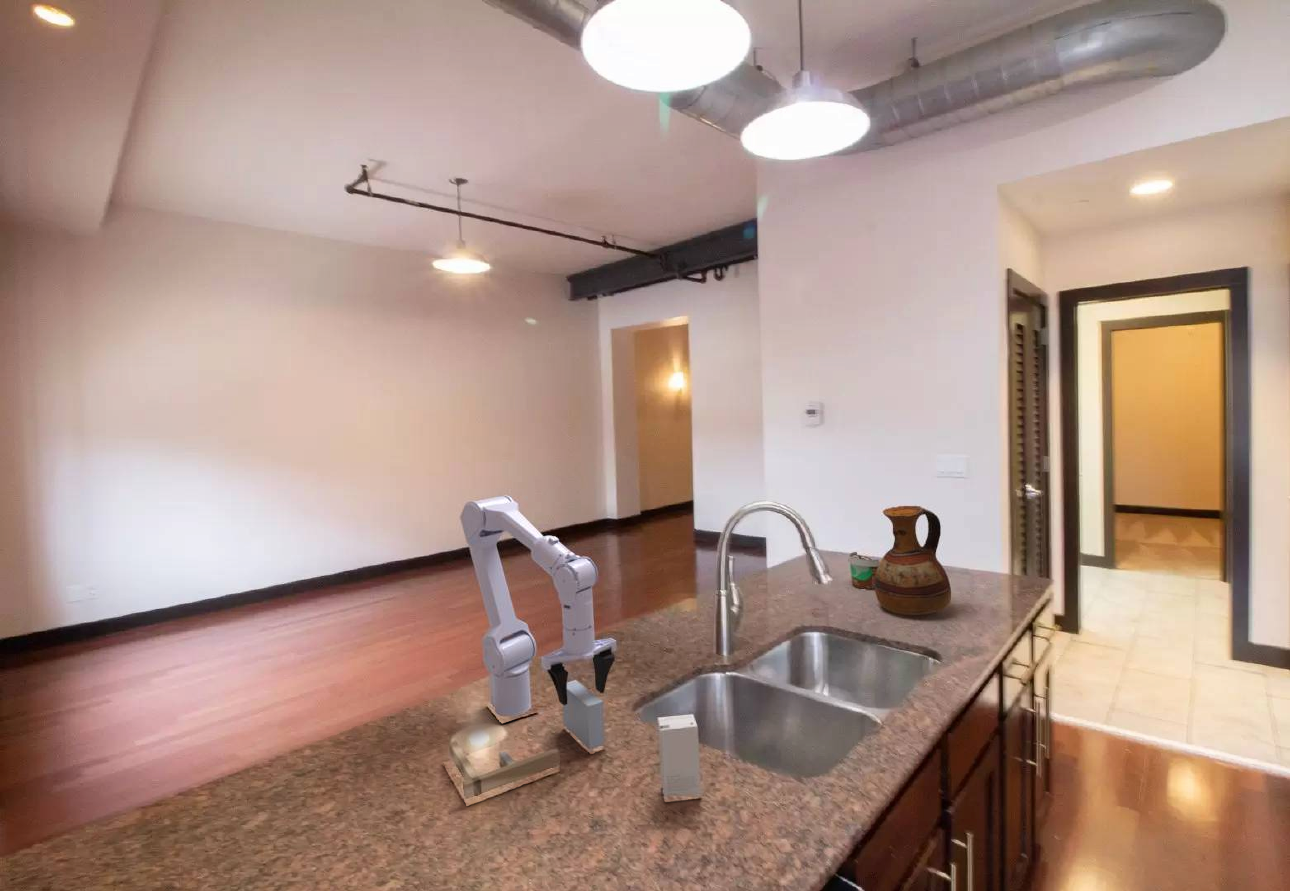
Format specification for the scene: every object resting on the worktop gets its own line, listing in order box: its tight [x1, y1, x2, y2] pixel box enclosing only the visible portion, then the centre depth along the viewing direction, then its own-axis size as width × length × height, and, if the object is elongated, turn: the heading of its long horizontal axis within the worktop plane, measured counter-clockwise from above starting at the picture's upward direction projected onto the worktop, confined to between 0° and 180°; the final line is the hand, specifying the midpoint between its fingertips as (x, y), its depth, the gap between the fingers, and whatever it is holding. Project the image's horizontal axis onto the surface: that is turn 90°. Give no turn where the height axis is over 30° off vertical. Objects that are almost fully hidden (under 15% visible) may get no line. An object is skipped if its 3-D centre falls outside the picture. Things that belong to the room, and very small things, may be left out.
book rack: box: [448, 740, 561, 799], centre depth 108 cm, size 14×16×4 cm
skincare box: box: [656, 713, 702, 798], centre depth 99 cm, size 6×4×12 cm
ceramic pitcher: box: [874, 505, 952, 615], centre depth 178 cm, size 20×20×30 cm
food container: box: [847, 551, 880, 591], centre depth 201 cm, size 12×6×10 cm, turn 17°
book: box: [562, 679, 606, 749], centre depth 116 cm, size 11×3×9 cm, turn 32°
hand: (581, 696), depth 116 cm, fingers open, 7 cm apart
